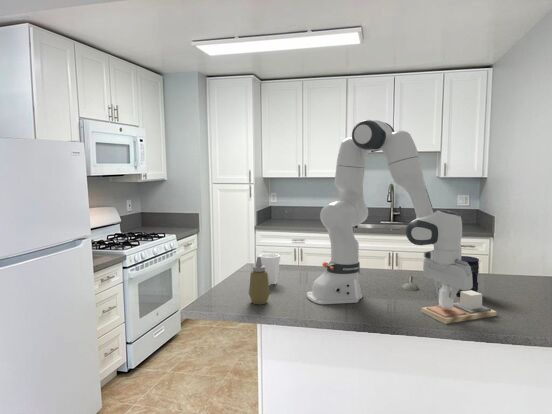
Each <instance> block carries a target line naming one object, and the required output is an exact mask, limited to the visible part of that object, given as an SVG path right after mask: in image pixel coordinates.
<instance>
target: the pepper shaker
mask: <svg viewBox="0 0 552 414" xmlns="http://www.w3.org/2000/svg"><path fill="white" fill-rule="evenodd" d="M441 286H442V288H440V289H439V293H438V295H439V296H438V305H440V306H441V307H442V308H453V303H455V302H454V301H455V299H451V298H449V293H451V292H452V289H451V286H450V285H447V284H444V283H441Z"/></svg>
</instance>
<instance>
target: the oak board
mask: <svg viewBox="0 0 552 414" xmlns="http://www.w3.org/2000/svg"><path fill="white" fill-rule="evenodd" d="M420 309H421V310H420V311H421V313H422V314H425V315H426V316H429V317H430V318H433V319H435V320H437V321H438V322H440V323H443V324H446V325H447V324H453V323H459V322H465V321H472V320H477V319H485V318H490V317H496V316H497V310H494V309H492V308H490V307H486V306H484V305H482V308H478V309H468V308H466V307H463V306H461V305H460V301H459V302H454V303H453V308H442V307H441V306H440V305H439V304H438V305H433V306H424V307H421V308H420Z"/></svg>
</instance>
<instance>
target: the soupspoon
mask: <svg viewBox="0 0 552 414" xmlns="http://www.w3.org/2000/svg"><path fill="white" fill-rule="evenodd" d="M413 277H414V276H413V275H412V274H411V275H408V279H409V281H408V282H404V283H403V284H402V285H401V286H402V289H403V290H404V291H409V292H417V291H418V290H419V286H418V285H417V284H416V283H415V282H412V279H413Z"/></svg>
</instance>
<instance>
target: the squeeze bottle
mask: <svg viewBox="0 0 552 414" xmlns="http://www.w3.org/2000/svg"><path fill="white" fill-rule="evenodd" d="M255 261H256V263H255V265H253V266H252V271H251V272H250V276H249V277H250V278H249V289H248V295H249V299H250V301H251V303H252V304H253V305H265V304H267V303H268V300H269V297H270V293H271V292H270V285H269V283H268V274H267V272H266V271H265V266H263V265H262V262H261V258H260V257H259V256H257V257H256V260H255Z"/></svg>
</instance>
